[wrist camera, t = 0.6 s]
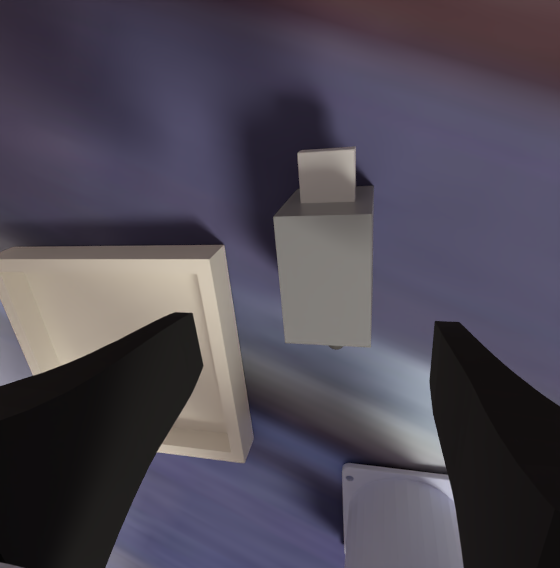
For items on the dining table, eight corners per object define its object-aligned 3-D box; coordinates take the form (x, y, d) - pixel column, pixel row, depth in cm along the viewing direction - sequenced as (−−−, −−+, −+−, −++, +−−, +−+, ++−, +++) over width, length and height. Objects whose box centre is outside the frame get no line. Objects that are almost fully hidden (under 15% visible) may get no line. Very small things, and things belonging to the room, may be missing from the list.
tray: (253, 438, 27) (244, 463, 25) (80, 418, 30) (60, 439, 28) (224, 244, 21) (209, 259, 19) (13, 246, 24) (-17, 259, 23)
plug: (371, 334, 22) (370, 395, 17) (307, 331, 22) (289, 388, 18) (374, 139, 17) (372, 154, 13) (294, 145, 18) (267, 161, 14)
